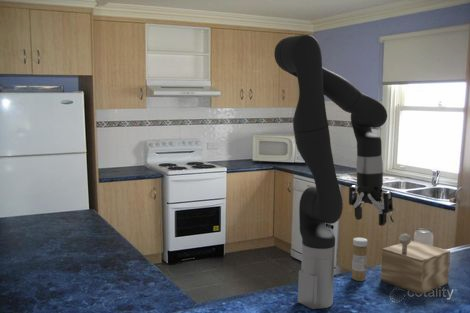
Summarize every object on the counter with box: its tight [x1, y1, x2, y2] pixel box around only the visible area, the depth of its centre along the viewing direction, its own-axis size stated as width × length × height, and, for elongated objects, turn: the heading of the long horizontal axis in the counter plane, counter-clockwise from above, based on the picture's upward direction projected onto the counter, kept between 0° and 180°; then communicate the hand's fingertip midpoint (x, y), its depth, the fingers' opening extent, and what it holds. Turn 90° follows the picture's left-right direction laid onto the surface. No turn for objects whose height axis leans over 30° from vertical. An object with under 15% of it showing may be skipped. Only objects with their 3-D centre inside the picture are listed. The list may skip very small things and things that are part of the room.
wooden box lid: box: [381, 233, 451, 262], centre depth 151 cm, size 16×14×7 cm
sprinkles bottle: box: [351, 237, 369, 282], centre depth 154 cm, size 5×5×13 cm
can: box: [413, 228, 434, 246], centre depth 171 cm, size 6×6×12 cm
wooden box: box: [380, 250, 451, 295], centre depth 152 cm, size 16×14×10 cm
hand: (370, 222), depth 144 cm, fingers open, 8 cm apart
